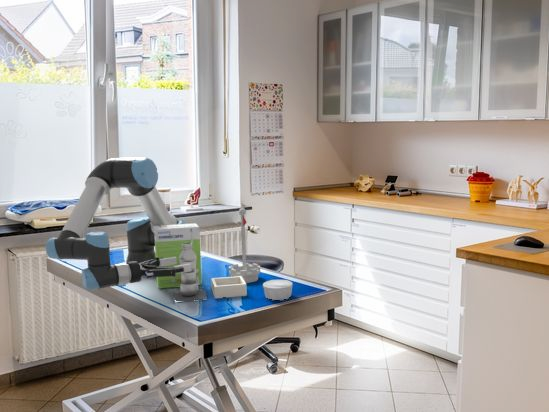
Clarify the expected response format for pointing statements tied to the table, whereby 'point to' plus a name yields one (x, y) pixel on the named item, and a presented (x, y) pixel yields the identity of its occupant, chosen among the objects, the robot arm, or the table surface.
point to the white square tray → (228, 287)
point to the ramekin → (278, 289)
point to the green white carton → (176, 249)
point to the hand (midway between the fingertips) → (183, 263)
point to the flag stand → (244, 258)
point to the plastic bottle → (188, 278)
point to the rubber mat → (198, 296)
